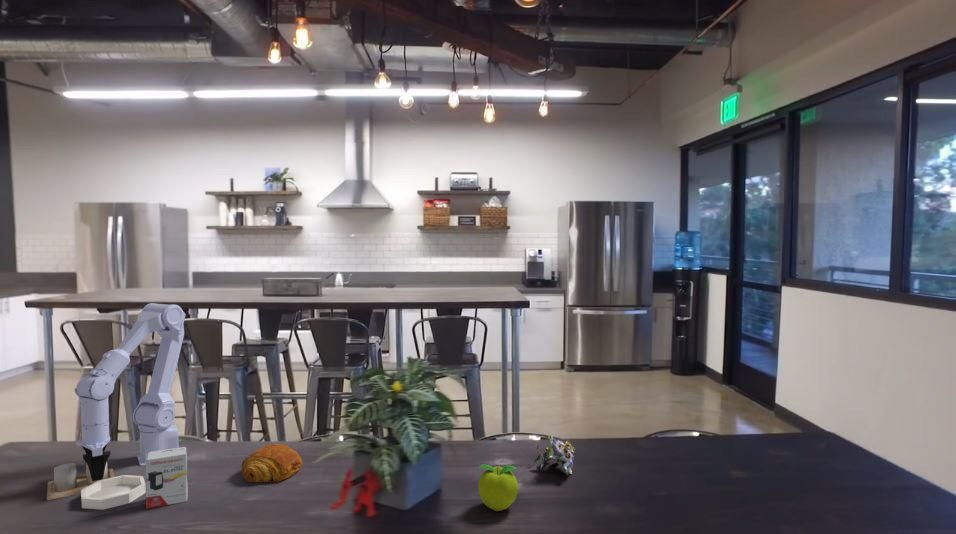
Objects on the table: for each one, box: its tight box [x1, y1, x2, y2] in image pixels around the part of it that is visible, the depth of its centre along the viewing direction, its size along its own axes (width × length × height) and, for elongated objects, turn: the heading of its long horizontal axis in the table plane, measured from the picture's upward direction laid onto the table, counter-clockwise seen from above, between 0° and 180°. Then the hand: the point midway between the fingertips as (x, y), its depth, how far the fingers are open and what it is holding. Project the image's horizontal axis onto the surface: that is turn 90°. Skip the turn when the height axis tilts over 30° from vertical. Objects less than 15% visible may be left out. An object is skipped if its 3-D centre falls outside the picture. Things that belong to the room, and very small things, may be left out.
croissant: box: [241, 443, 303, 483], centre depth 144 cm, size 14×16×8 cm
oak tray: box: [46, 468, 115, 501], centre depth 136 cm, size 14×11×1 cm
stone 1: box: [53, 462, 78, 492], centre depth 134 cm, size 4×4×5 cm
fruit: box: [477, 463, 519, 512], centre depth 126 cm, size 9×9×10 cm
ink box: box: [145, 446, 189, 510], centre depth 128 cm, size 9×5×12 cm, turn 117°
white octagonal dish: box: [80, 474, 146, 511], centre depth 130 cm, size 13×13×3 cm
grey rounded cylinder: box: [85, 461, 108, 485], centre depth 138 cm, size 4×4×5 cm
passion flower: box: [533, 435, 577, 476], centre depth 146 cm, size 11×11×12 cm
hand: (96, 474), depth 138 cm, fingers open, 7 cm apart
